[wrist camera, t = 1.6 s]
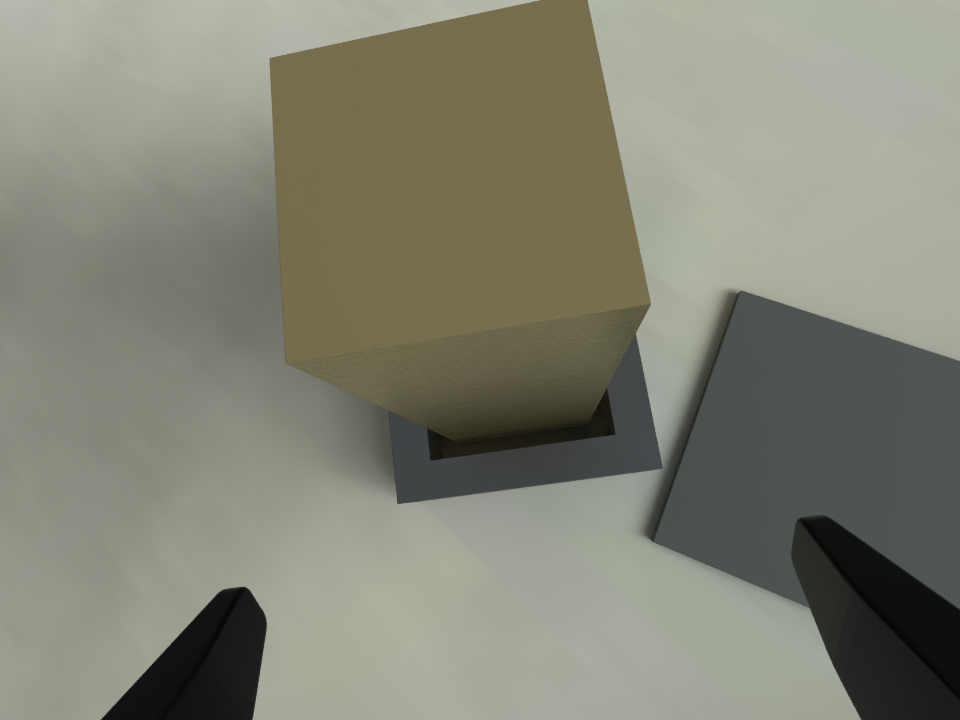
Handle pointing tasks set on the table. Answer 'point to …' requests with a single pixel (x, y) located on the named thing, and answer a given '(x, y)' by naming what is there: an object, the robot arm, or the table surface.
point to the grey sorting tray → (533, 449)
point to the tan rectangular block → (458, 221)
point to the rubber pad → (819, 450)
